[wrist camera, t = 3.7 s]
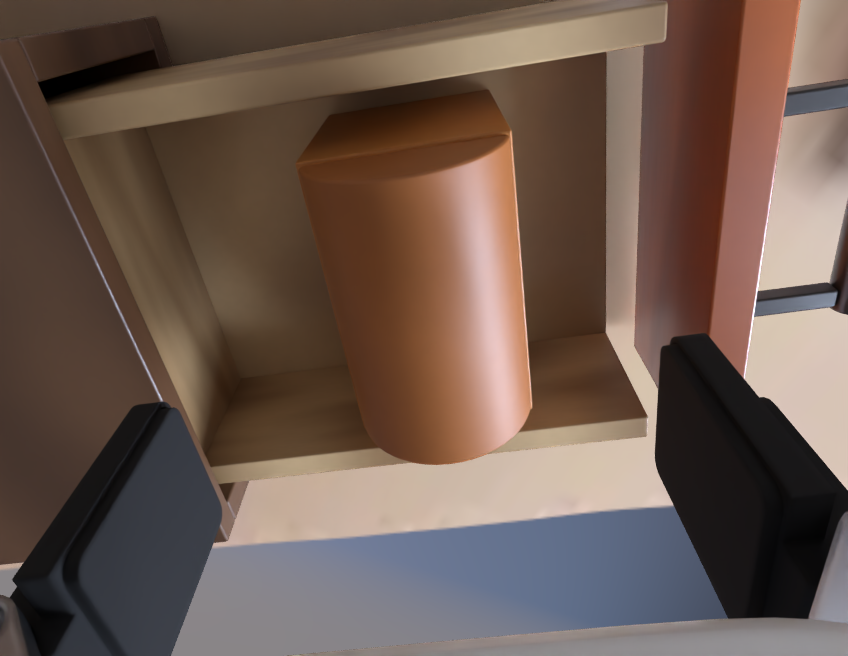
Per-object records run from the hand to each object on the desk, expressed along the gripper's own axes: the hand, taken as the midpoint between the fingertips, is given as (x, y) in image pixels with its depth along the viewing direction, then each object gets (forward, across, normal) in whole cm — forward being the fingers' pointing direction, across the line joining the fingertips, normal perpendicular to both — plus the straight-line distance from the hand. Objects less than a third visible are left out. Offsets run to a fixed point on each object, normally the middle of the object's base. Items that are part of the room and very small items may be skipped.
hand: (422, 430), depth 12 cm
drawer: (+11, -2, 0) cm, 12 cm away
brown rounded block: (+10, 0, 0) cm, 10 cm away
